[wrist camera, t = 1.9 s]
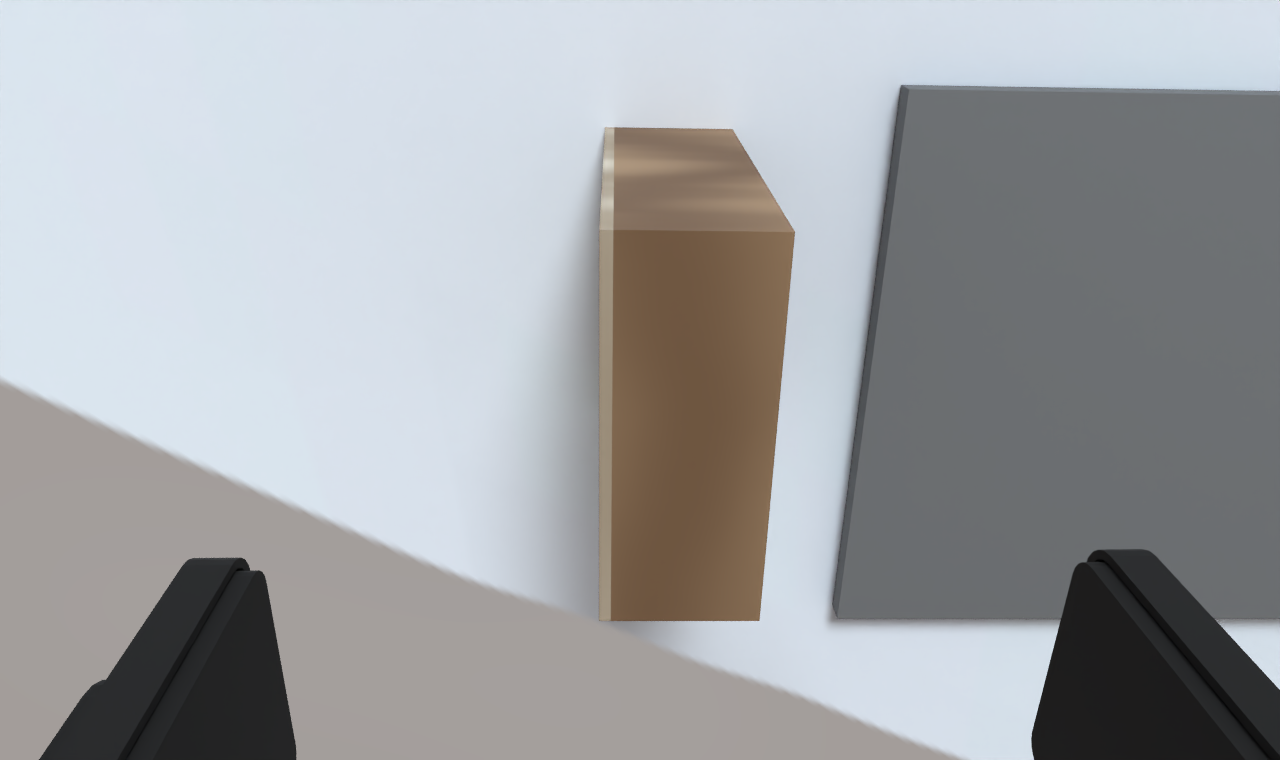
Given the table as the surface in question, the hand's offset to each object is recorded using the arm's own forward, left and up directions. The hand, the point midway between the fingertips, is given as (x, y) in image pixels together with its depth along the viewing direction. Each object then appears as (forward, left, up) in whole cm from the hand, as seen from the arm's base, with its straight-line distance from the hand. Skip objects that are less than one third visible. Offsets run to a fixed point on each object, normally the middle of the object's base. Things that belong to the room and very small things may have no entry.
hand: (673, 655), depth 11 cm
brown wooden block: (0, 0, -13) cm, 13 cm away
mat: (-14, +2, -13) cm, 19 cm away
